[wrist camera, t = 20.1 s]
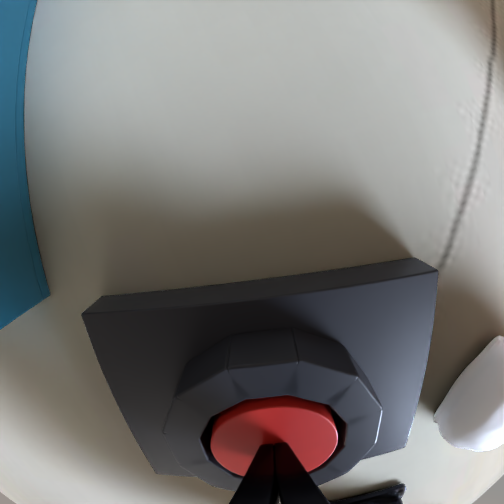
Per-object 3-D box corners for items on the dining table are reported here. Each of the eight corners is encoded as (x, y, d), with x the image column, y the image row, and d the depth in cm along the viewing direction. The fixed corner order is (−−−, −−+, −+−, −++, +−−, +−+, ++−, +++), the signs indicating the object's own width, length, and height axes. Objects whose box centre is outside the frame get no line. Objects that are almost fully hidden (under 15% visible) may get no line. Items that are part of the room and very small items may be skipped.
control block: (415, 256, 10) (470, 288, 7) (394, 425, 12) (417, 473, 9) (101, 295, 10) (52, 337, 7) (163, 450, 13) (147, 501, 9)
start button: (328, 362, 9) (341, 396, 7) (327, 439, 10) (335, 471, 8) (204, 376, 9) (196, 411, 7) (226, 449, 10) (223, 482, 8)
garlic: (534, 356, 12) (567, 383, 8) (472, 435, 13) (495, 470, 9) (490, 311, 11) (539, 346, 7) (408, 418, 12) (436, 468, 8)
